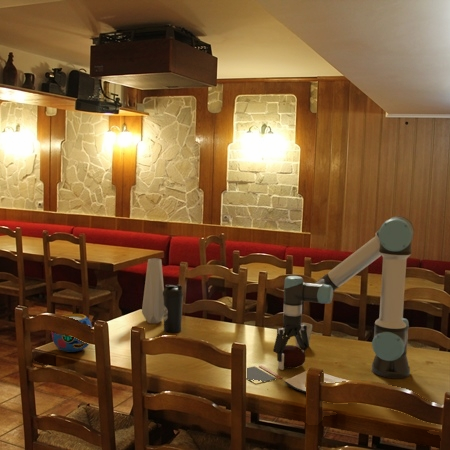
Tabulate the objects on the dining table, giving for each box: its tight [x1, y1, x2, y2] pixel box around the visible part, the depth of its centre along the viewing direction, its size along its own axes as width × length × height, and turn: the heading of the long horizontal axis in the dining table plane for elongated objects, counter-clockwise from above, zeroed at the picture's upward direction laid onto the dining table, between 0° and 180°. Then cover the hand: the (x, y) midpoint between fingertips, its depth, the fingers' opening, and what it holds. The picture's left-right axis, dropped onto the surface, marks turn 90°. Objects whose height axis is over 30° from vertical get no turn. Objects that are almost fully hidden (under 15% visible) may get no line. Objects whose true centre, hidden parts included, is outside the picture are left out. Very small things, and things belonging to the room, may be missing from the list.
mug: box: [294, 322, 313, 349], centre depth 261 cm, size 8×13×10 cm, turn 174°
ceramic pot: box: [51, 313, 93, 353], centre depth 248 cm, size 18×18×15 cm
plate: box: [284, 370, 348, 394], centre depth 216 cm, size 20×20×3 cm
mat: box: [246, 366, 277, 383], centre depth 225 cm, size 15×10×1 cm, turn 31°
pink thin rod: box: [258, 365, 284, 380], centre depth 229 cm, size 15×1×1 cm, turn 31°
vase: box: [141, 257, 165, 324], centre depth 295 cm, size 12×12×33 cm
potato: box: [283, 344, 306, 369], centre depth 235 cm, size 9×12×9 cm
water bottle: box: [163, 283, 185, 334], centre depth 281 cm, size 10×10×23 cm
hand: (290, 366), depth 235 cm, fingers closed on potato, 9 cm apart
